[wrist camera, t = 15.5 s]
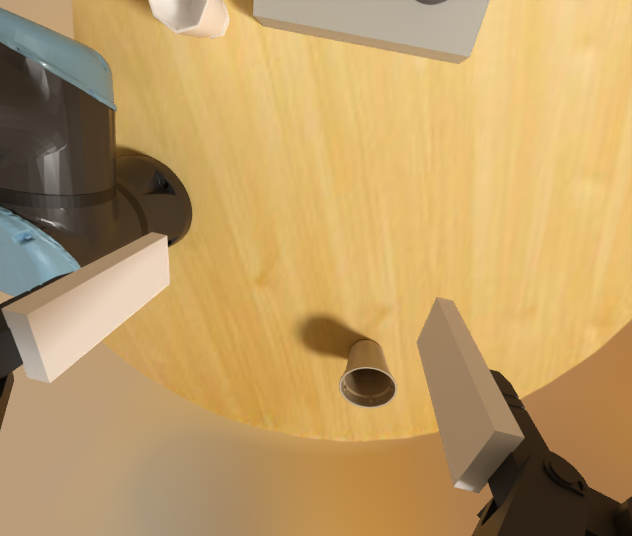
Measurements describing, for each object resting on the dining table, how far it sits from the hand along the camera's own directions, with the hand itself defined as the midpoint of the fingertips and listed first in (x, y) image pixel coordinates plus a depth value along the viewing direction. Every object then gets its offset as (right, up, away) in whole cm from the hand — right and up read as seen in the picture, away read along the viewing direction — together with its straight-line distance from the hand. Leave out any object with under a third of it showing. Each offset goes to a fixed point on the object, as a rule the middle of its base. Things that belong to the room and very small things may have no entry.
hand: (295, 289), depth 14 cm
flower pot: (+11, -15, +42) cm, 45 cm away
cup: (-13, +33, +22) cm, 41 cm away
